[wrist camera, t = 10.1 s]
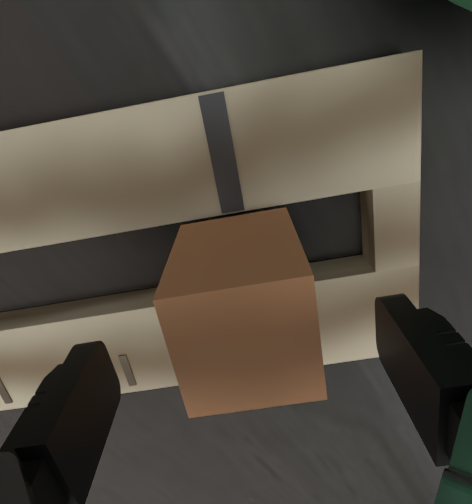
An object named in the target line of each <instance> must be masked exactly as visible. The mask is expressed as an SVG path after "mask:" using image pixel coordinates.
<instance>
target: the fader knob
mask: <svg viewBox="0 0 472 504" xmlns="http://www.w3.org/2000/svg"><path fill="white" fill-rule="evenodd" d="M153 304H154V307H155V310H156V314H157V317H158V320H159V323H160V327H161V330H162V333H163V336H164V339H165V343H166V346H167V349H168V352H169V356H170V359H171V362H172V365H173V369H174V372H175V375H176V378H177V382H178V385H179V388H180V391H181V395H182V398H183V401H184V404H185V408H186V411H187V414H188V417H189V418H194V417H202V416H209V415H216V414H224V413H231V412H238V411H246V410H253V409H260V408H268V407H275V406H283V405H290V404H297V403H305V402H312V401H319V400H327V392H326V383H325V374H324V365H323V356H322V346H321V337H320V328H319V319H318V310H317V301H316V292H315V282H314V275H313V272H312V270H311V267H310V265H309V262H308V260H307V257H306V255H305V252H304V250H303V247H302V245H301V242H300V240H299V237H298V235H297V233H296V230H295V228H294V225H293V223H292V220H291V218H290V215H289V213H288V210H287V208H286V207H284V208H278V209H272V210H266V211H265V209H261V210H255V211H249V212H244V213H238V214H232V215H226V216H220V217H214V218H208V219H207V221H202V222H196V223H190V224H185V225H180V228H179V231H178V233H177V236H176V239H175V242H174V244H173V247H172V250H171V252H170V255H169V258H168V260H167V263H166V266H165V268H164V271H163V274H162V276H161V279H160V282H159V285H158V287H157V290H156V293H155V295H154V298H153Z"/></svg>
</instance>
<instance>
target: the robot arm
mask: <svg viewBox="0 0 472 504" xmlns="http://www.w3.org/2000/svg"><path fill="white" fill-rule="evenodd" d="M375 328H376V345H377V351H378V354H379V358H380V360H381V363H382V365H383V367H384V369H385V370H386V372H387V374H388V376H389V378H390V380H391V382H392V384H393V386H394V388H395V389H396V391H397V393H398V395H399V397H400V399H401V401H402V403H403V405H404V407H405V408H406V410H407V412H408V414H409V416H410V418H411V420H412V422H413V424H414V426H415V427H416V429H417V431H418V433H419V435H420V437H421V439H422V441H423V443H424V445H425V446H426V448H427V450H428V452H429V454H430V456H431V458H432V460H433V462H434V463H435V465H436V467H438V466H445V465H449V467H448V469H447V468H445V469H444V472H443V474H442V478H441V481H440V485H439V489H438V492H437V496H436V500H435V504H472V348H471V347H470V346H469V344H468V343H465V340H464V339H463V338H462V337H461V335H460V334H459V333H458V332H457V333H456V330H455V329H454V328H453V326H452V325H451V324H450V323H449V322H448V321H447V320H446V318H445V317H443V316H441V315H439V314H438V313H436V312H434V311H432V310H430V309H429V308H422V309H417V308H416V307H415V306H414V305H413V303H412V302H411V301H410V300H409V298H408V297H407V296H406V295H405V294H404V293H401V294H395V295H388V296H382V297H376V299H375ZM120 395H121V388H120V382H119V378H118V376H117V373H116V371H115V368H114V366H113V363H112V361H111V358H110V356H109V353H108V351H107V348H106V346H105V344H104V343H103V342H102V341H94V342H87V343H81V344H76V345H74V346H73V347H72V349H71V350H70V352H69V354H68V355H67V357H66V359H65V361H64V362H63V364H58V365H57V366H56V367H55V368H54V369H53V370H52V371H51V372H50V373H49V374H48V375H47V376H45V377H44V379H43V380H42V382H41V383H40V385H39V387H38V388H37V390H36V392H35V395H34V396H32V398H31V400H30V401H29V403H28V407H27V408H25V409H24V411H23V413H22V414H21V416H20V418H19V419H18V421H17V422H16V424H15V426H14V427H13V429H12V431H11V432H10V434H9V435H8V437H7V439H6V440H5V442H4V444H3V445H2V447H1V449H0V504H85V502H86V499H87V496H88V493H89V490H90V487H91V484H92V481H93V478H94V475H95V472H96V469H97V466H98V463H99V461H100V458H101V455H102V452H103V449H104V446H105V443H106V440H107V437H108V434H109V431H110V428H111V425H112V422H113V419H114V416H115V413H116V410H117V407H118V404H119V401H120Z"/></svg>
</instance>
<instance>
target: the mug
mask: <svg viewBox="0 0 472 504" xmlns="http://www.w3.org/2000/svg"><path fill="white" fill-rule="evenodd" d="M448 1H450V2H452V3H454V4H456V5H458V6H460V7H462V8H465V9H467V10H469V11H472V0H448Z"/></svg>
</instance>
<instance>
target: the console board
mask: <svg viewBox="0 0 472 504" xmlns="http://www.w3.org/2000/svg"><path fill="white" fill-rule="evenodd" d="M421 114H422V50H417V51H411V52H405V53H399V54H394V55H389V56H383V57H378V58H373V59H368V60H363V61H358V62H353V63H347V64H342V65H337V66H332V67H327V68H322V69H317V70H311V71H306V72H301V73H296V74H291V75H286V76H281V77H275V78H270V79H265V80H260V81H255V82H250V83H245V84H239V85H234V86H229V87H224V88H219V89H214V90H209V91H203V92H198V93H193V94H188V95H183V96H178V97H173V98H167V99H162V100H157V101H152V102H147V103H142V104H137V105H131V106H126V107H121V108H116V109H111V110H106V111H101V112H95V113H90V114H85V115H80V116H75V117H70V118H64V119H59V120H54V121H49V122H44V123H39V124H34V125H28V126H23V127H18V128H13V129H8V130H3V131H0V253H4V252H10V251H16V250H22V249H28V248H34V247H39V246H45V245H51V244H57V243H63V242H69V241H74V240H80V239H86V238H92V237H98V236H104V235H109V234H115V233H121V232H127V231H133V230H139V229H144V228H150V227H156V226H162V225H168V224H174V223H179V222H185V221H191V220H197V219H203V218H208V217H214V216H220V215H226V214H232V213H238V212H243V211H249V210H255V209H261V208H267V207H273V206H278V205H284V204H290V203H296V202H302V201H308V200H313V199H319V198H325V197H331V196H337V195H343V194H348V193H354V192H360V210H361V230H362V250H363V254H362V255H356V256H350V257H344V258H337V259H331V260H325V261H319V262H312V263H309V265H310V267H311V270H312V272H313V275H314V282H315V292H316V301H317V310H318V319H319V328H320V337H321V346H322V356H323V365H326V364H333V363H340V362H347V361H354V360H361V359H368V358H375V357H379V354H378V351H377V345H376V328H375V299H376V297H382V296H388V295H395V294H401V293H404V294H405V295H406V296H407V297H408V298H409V300H410V301H411V302H412V303H413V305H414V306H415V307H416V308H417V309H419V251H420V182H421ZM156 290H157V288H150V289H144V290H138V291H132V292H125V293H119V294H113V295H107V296H100V297H94V298H88V299H82V300H76V301H69V302H63V303H57V304H51V305H44V306H38V307H32V308H26V309H19V310H13V311H7V312H1V313H0V411H2V410H9V409H16V408H23V407H28V403H29V401H30V400H31V398H32V396H34V395H35V392H36V390H37V388H38V387H39V385H40V383H41V382H42V380H43V379H44V377H45V376H47V375H48V374H49V373H50V372H51V371H52V370H53V369H54V368H55V367H56V366H57V365H58V364H63V362H64V361H65V359H66V357H67V355H68V354H69V352H70V350H71V349H72V347H73V346H74V345H76V344H81V343H87V342H94V341H102V342H103V343H104V344H105V346H106V348H107V351H108V353H109V356H110V358H111V361H112V363H113V366H114V368H115V371H116V373H117V376H118V378H119V382H120V388H121V394H122V393H129V392H136V391H143V390H150V389H157V388H164V387H171V386H178V382H177V378H176V375H175V372H174V369H173V365H172V362H171V359H170V356H169V352H168V349H167V346H166V343H165V339H164V336H163V333H162V330H161V327H160V323H159V320H158V317H157V314H156V310H155V307H154V304H153V298H154V295H155V293H156Z"/></svg>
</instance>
